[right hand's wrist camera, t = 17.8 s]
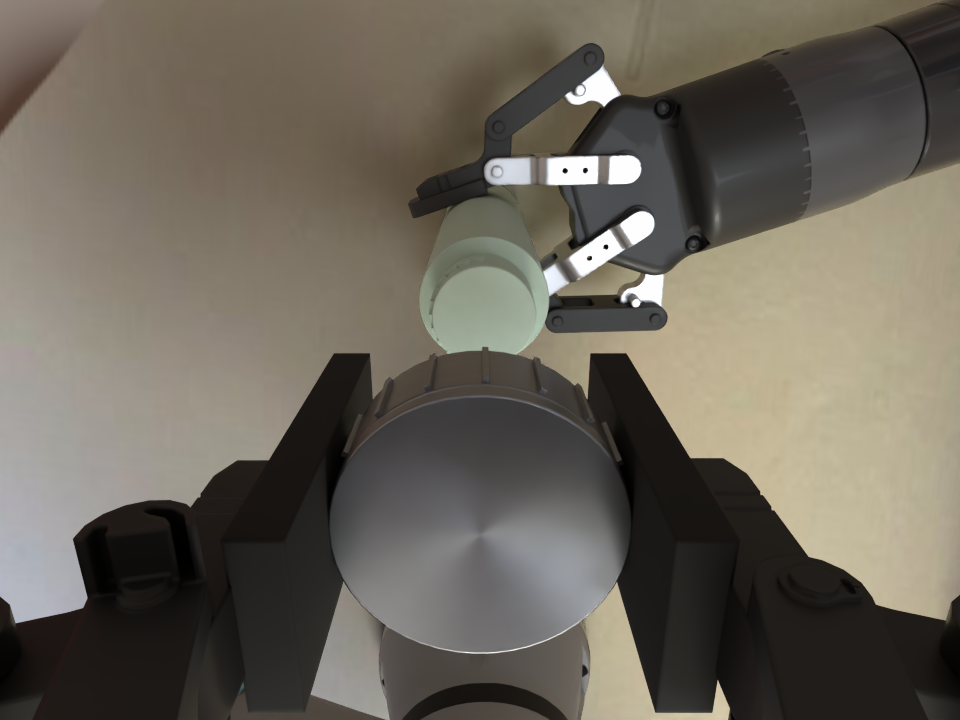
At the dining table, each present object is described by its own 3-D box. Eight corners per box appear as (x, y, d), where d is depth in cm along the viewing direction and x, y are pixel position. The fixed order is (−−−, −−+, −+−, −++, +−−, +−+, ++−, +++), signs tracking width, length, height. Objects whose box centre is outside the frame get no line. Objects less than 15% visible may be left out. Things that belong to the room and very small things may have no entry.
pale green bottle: (450, 176, 37) (419, 238, 19) (525, 185, 38) (565, 256, 19) (442, 251, 39) (408, 374, 21) (514, 259, 39) (543, 389, 21)
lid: (450, 620, 13) (445, 702, 11) (290, 442, 12) (255, 501, 10) (662, 499, 12) (694, 568, 10) (514, 290, 11) (522, 326, 9)
